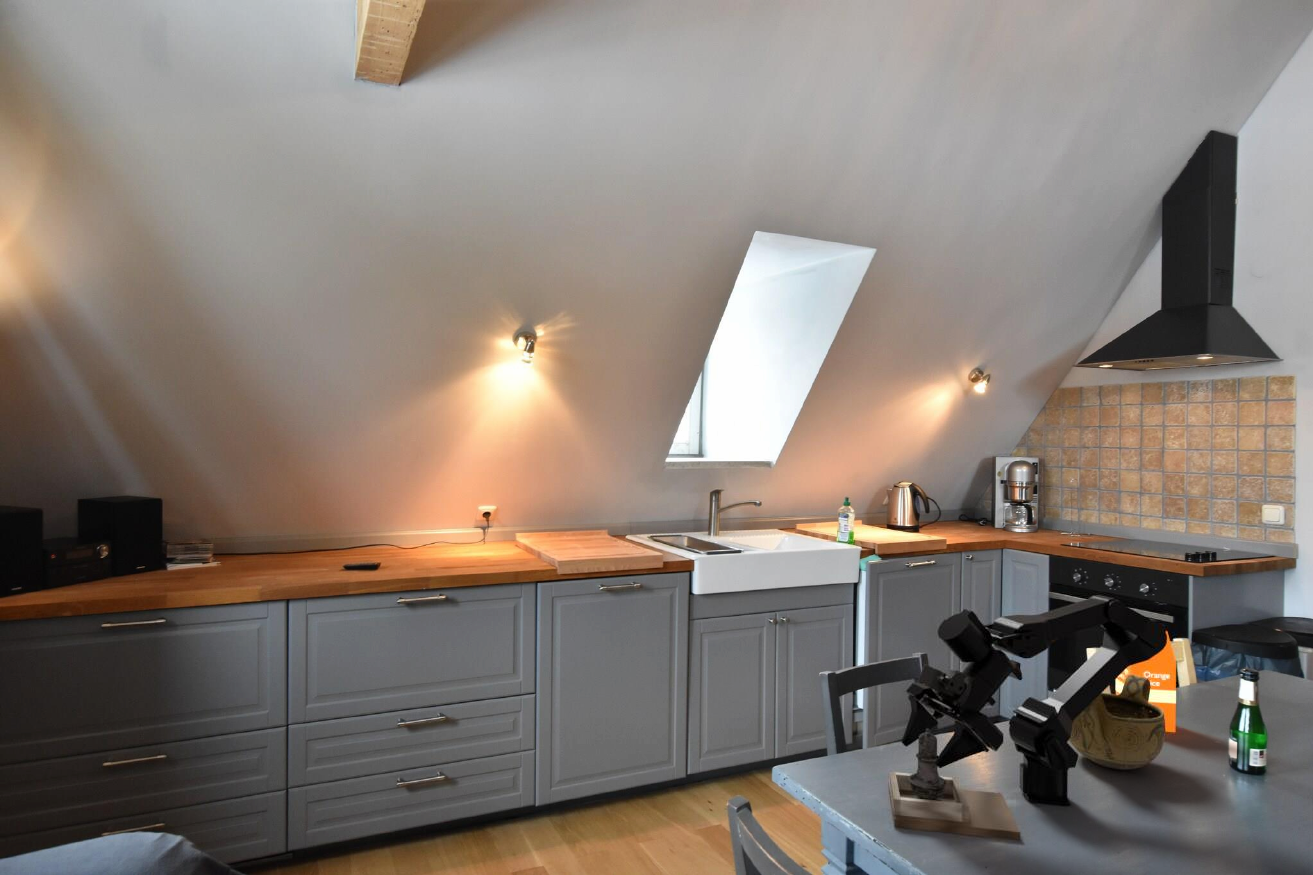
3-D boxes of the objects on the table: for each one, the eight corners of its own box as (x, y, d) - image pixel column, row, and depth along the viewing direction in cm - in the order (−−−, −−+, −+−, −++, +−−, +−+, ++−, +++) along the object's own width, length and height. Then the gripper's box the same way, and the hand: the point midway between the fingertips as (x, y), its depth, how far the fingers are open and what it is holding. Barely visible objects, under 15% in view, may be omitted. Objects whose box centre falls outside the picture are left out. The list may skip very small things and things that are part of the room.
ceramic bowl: (1131, 793, 139) (1132, 704, 140) (1035, 761, 153) (1036, 680, 153) (1188, 764, 153) (1189, 683, 153) (1095, 737, 166) (1095, 663, 166)
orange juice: (1115, 717, 179) (1115, 625, 179) (1158, 720, 178) (1159, 627, 178) (1130, 729, 171) (1131, 633, 171) (1176, 732, 170) (1177, 635, 170)
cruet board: (1001, 800, 136) (1001, 778, 136) (1020, 840, 122) (1020, 815, 122) (888, 789, 140) (888, 768, 140) (894, 826, 126) (894, 803, 126)
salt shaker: (954, 808, 130) (955, 732, 130) (922, 812, 128) (922, 735, 128) (932, 793, 135) (932, 720, 136) (900, 797, 134) (901, 723, 134)
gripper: (916, 634, 142) (858, 703, 139) (987, 663, 124) (923, 742, 121) (955, 677, 144) (899, 746, 141) (1031, 711, 126) (968, 791, 123)
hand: (919, 754), depth 131 cm, fingers open, 9 cm apart
